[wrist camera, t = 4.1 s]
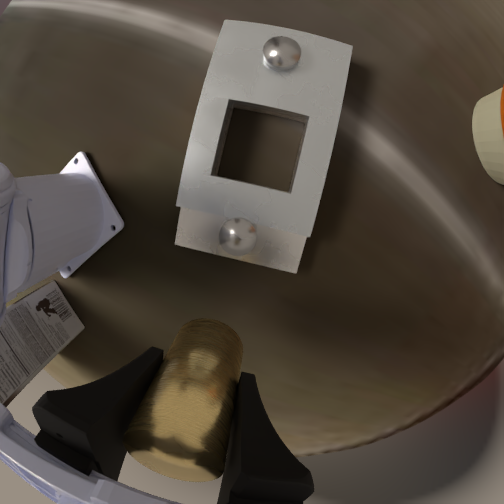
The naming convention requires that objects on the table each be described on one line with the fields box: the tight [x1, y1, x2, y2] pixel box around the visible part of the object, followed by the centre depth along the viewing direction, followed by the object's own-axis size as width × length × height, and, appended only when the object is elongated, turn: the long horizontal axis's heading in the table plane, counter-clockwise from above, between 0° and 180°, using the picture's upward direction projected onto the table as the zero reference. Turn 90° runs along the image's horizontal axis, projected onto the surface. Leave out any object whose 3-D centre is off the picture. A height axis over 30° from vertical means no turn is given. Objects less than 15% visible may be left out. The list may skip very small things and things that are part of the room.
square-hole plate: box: [175, 20, 353, 273], centre depth 17 cm, size 17×9×3 cm, turn 167°
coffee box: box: [0, 280, 85, 407], centre depth 16 cm, size 9×6×16 cm
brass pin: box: [123, 319, 243, 482], centre depth 12 cm, size 4×4×8 cm
